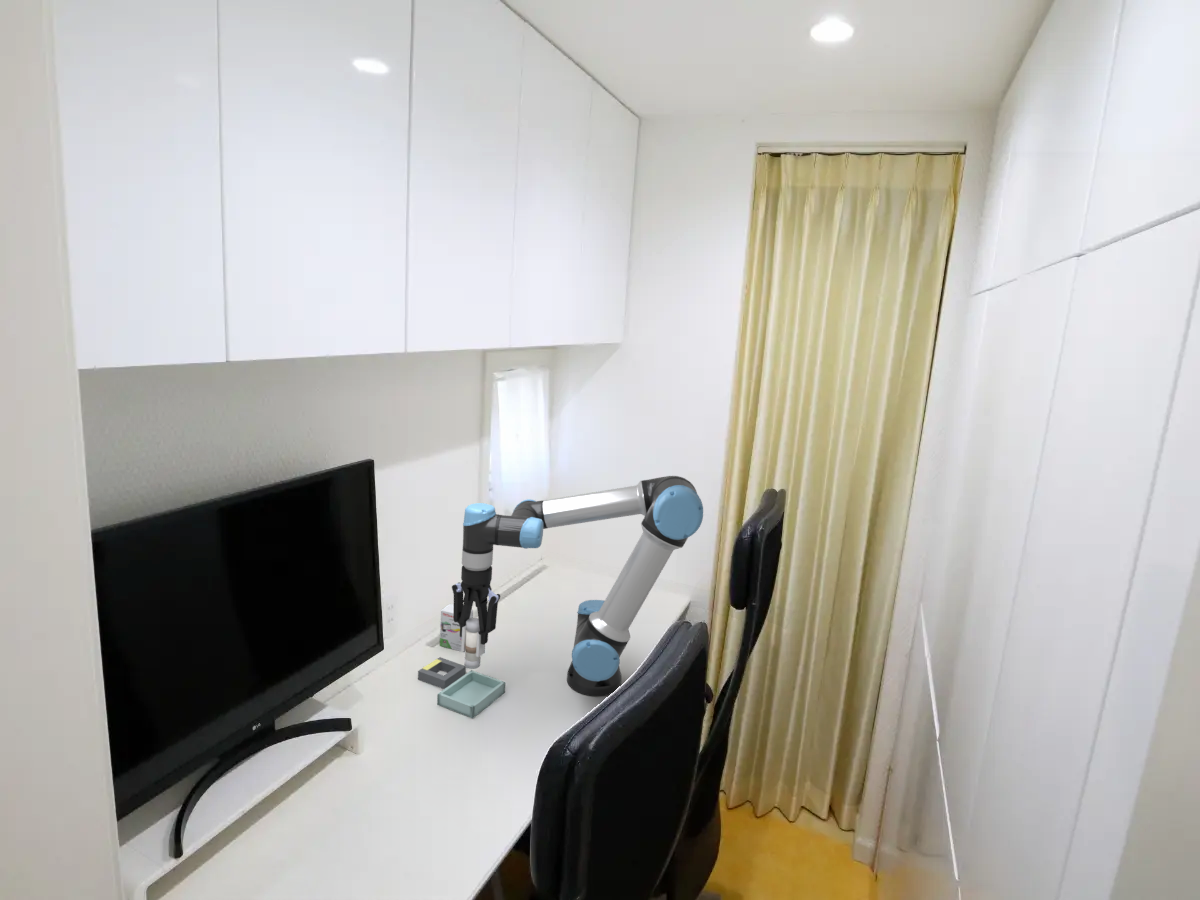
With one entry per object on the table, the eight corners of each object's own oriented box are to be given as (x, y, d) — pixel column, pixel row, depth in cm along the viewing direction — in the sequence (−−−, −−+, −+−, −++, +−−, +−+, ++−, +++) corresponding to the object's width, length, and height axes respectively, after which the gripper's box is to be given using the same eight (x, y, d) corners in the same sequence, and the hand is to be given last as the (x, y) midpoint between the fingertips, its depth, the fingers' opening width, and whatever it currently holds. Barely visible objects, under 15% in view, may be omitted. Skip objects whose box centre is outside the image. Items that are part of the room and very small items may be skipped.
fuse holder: (465, 674, 183) (465, 665, 182) (444, 689, 175) (444, 680, 174) (439, 665, 187) (440, 656, 186) (417, 679, 179) (418, 670, 178)
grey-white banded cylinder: (483, 663, 171) (485, 620, 169) (473, 670, 167) (476, 626, 165) (470, 659, 172) (472, 616, 170) (461, 666, 169) (463, 622, 167)
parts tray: (504, 692, 175) (505, 681, 175) (472, 718, 163) (472, 707, 162) (471, 680, 180) (471, 670, 180) (437, 704, 168) (437, 693, 167)
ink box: (438, 646, 197) (439, 609, 195) (447, 639, 202) (448, 603, 200) (464, 652, 195) (465, 615, 192) (472, 645, 199) (473, 608, 197)
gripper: (514, 568, 165) (509, 655, 169) (459, 553, 172) (455, 637, 176) (496, 578, 158) (491, 668, 162) (440, 562, 165) (437, 648, 169)
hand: (473, 651), depth 169 cm, fingers closed on grey-white banded cylinder, 4 cm apart
